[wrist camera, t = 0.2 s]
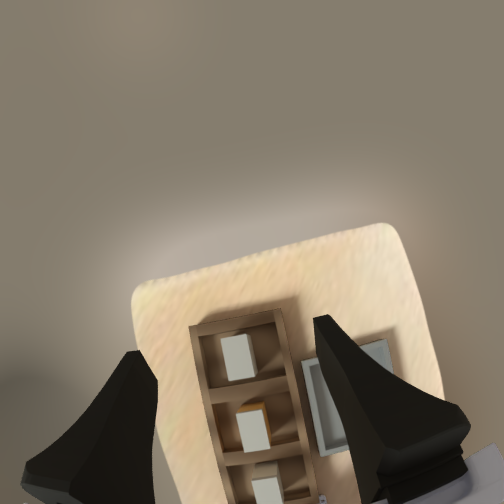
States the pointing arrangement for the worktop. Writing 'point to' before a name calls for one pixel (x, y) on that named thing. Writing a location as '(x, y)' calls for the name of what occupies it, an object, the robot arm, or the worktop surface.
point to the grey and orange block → (254, 427)
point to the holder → (250, 391)
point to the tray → (322, 403)
